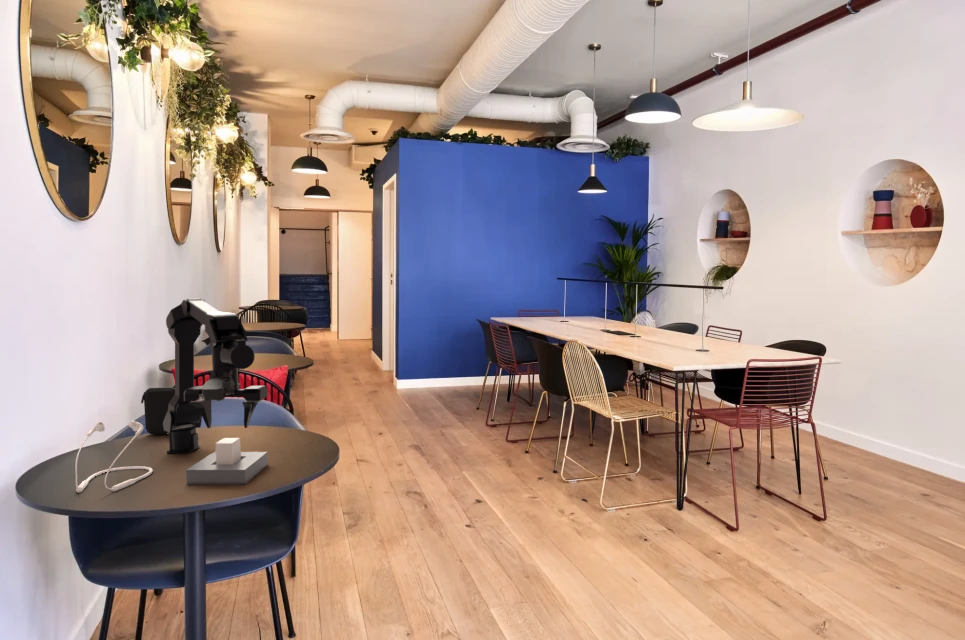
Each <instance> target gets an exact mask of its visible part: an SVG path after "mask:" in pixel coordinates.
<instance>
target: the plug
mask: <svg viewBox="0 0 965 640" xmlns="http://www.w3.org/2000/svg"><path fill="white" fill-rule="evenodd" d="M215 452H216V465H235V464H237V463H238V462H239V461H241V452H242V451H241V437H223V438H222V439H220V440H219V441H216V442H215Z"/></svg>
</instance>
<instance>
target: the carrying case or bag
mask: <svg viewBox="0 0 965 640" xmlns="http://www.w3.org/2000/svg"><path fill="white" fill-rule="evenodd" d="M174 394H175V387H170V386H169V387H167V386H166V387H149V388H147V389H146V390H145V391H144V392H143V394H142V396H141V400H140V403H141V404H143V405H144V424H145V430H146V433H148V434H149V435H151V434H167V433H169V432H167V431H164V427H163V421H164V419H165V416H166V413H167V411H168V405H169V402H170V400H171V399H172V397H173V396H174ZM167 435H168V434H167Z"/></svg>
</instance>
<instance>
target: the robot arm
mask: <svg viewBox="0 0 965 640" xmlns="http://www.w3.org/2000/svg"><path fill="white" fill-rule="evenodd" d="M165 323H166V324H165V325H166V328H167V332H168V335H169V336H170V337H171V339H172V340H173V342H174V389H175V394H174V396H173V397H172V399H171V400H170V402H169V405H168V411H167V413H166V416H165V419H164V421H163V427H164V431H167V432H169V434H168V441H169V442H168V443H169V450H167V451H166V454H190V453H192V452H194V451H196V450H197V449H199V448H200V445H199V433H198V432H197V429H199V428H201V426H202V420H203V421H204V424H205V425H206V428H207V429H211V428H212V421H213V420H212V416H213V415H212V401H216V402H217V401H218V402H219V401H223V400H225V398H243V399H244V401H242V404H243V405H242V406H243V409H244V410H243V414H244V415H243V426H244V428H245V429H247V428H248V427H249V424H250V421H251V419H252V416H253V414H254V411H255V409H256V407H257V405H258V403H259V402H261V401H263V399H265V398H267V397H268V396H269V395H268V394H269V392H268V388H267V387H266V385H250V386H248V387H246V388H241V383H239V373H238V372H241V370H245V369H248V368H250V367H251V366H252V365H253V364H254V361H255V357H256V356H255V353H254V351H253V349H252V347H250V346H249V345H248V344H247V342H248V333H247V331H246V329H245V327H244V325H243V323H242V320H241V318H240V317H239V316H238V314H236V313H234V312H231V311H230V312H228V311H220V310H218V309H217V308H215V307H214V306H212V305H211V304H209V303H207V302H206V300H205V299H204V298H201V297H197V298H194V297H193V298H186V299H183V300H182V302H181V303H180V304H179V305H177V306H175V307H173V308H171V309H170V311H169V312H168V314H167V316H166V317H165ZM203 325H204V332H205V333H206V334H207V336H208V338H209V339H210V340H209V341H210V342H209V346H211V361H212V362H211V363H212V370H210V372H209V379H208V380H206V382H205V383H204V384H203V385H195V381H194V380H195V343H196V341H197V340H198V338H199V337H200V335H201V331H202V326H203ZM198 447H199V448H198ZM195 449H196V450H195ZM193 450H194V451H193Z"/></svg>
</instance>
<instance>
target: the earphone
mask: <svg viewBox="0 0 965 640" xmlns="http://www.w3.org/2000/svg"><path fill="white" fill-rule="evenodd" d="M128 427H129V428H131V429H132V430H133V431H134V433H135V434H134V436H133V438H131V440H130V441H129V442H128V443H127V445H125V447H124V448H123V449H122V450H121V451H120V453H119V454H118V455H117V456H116V458H115V459H114V460H113V462H112V463H111V465H109V468H108V469H104V470H100V471H97V472H95V473H93V474H92V475H90V476H88V477H87V478H86V479H85V480H82V482H81V483H80V484H79V485H78V461H79V456H80V452H81V451H82V448H83V446H84V444H85V442H86V441H87V439H88V438H89V437H92V435H93V434H94V432H99V433H102V432H105V430H106V427H105V423H104V422H103V421H101V420H100V421H97V422H96V424H95V426H93V427H92V428H91V429H90V430H89V431H88V433H86V437H85V438H84V440H83V442H82V443H81V445H80V447H79V449H78V452H77V455H76V457H75V466H74V467H75V468H74V469H75V487H76V489H75V491H76V493H82V492H83V491H84V489H85V488H86V487H87V486H88V485H89V482H90V481H91V480H92V479H94V478H95V476H96V477H98V476H100V475H102V473H103V474H105V477H104V486H105V488H106V489H107V490H111V491H112V492H116V491H120V490H121V489H122V490H123V489H124V488H126V487H129V486H131V485H133V484H135V483H136V482H138V481H140V480H143V479H144V478H147V477H148V476H151V474H152V473H154V472H153V471H154V470H153V468H152V467H150V466H142V465H141V466H140V465H139V466H138V465H137V466H136V465H135V466H134V465H133V466H122V467H121V466H119V467H113V466H114V464H115V463H116V462H117V460H118V459H119V457H121V455H122V454H123V452H124V451H125V450H126V449H127V448H128V447H129V445H130V444H132V442H133V441H134V439H136V438H137V436H139V435H140V434H141V433H142V432H143V431H144V425H143V424H142V423H140V422H138V421H135V420H130V421H129V423H128ZM112 467H113V468H112ZM144 469H145V470H146V471H147V472H146V473H145V474H142V475H140V476H137V477H136V478H130V479H127V480H125V481H123V482H120V483H118V484H115V485H113V486H111V487H108V485H107V477H108V475H109V473H111V472H116V471H125V470H144ZM110 471H111V472H110ZM105 472H107V473H105Z"/></svg>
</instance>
